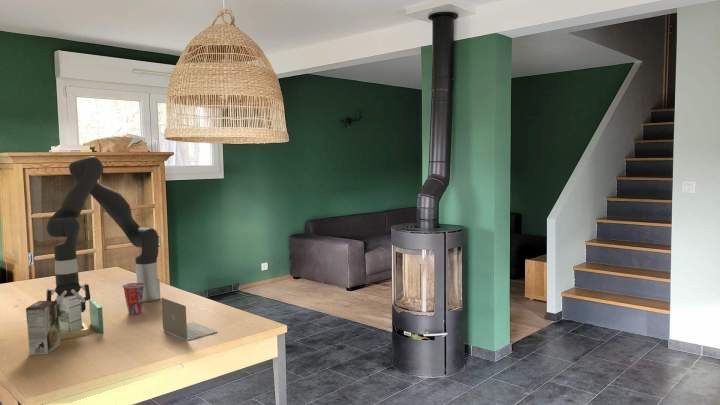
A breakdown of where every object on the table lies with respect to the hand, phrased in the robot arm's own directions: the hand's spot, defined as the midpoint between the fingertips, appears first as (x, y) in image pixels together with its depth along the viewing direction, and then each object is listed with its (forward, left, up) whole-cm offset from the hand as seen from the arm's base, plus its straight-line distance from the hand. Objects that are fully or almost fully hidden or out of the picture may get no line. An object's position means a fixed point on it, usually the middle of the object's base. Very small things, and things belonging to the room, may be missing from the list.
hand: (69, 314), depth 203 cm
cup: (-26, -13, -8) cm, 30 cm away
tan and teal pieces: (-2, 0, -7) cm, 8 cm away
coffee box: (+10, +14, -8) cm, 19 cm away
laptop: (-35, +27, -8) cm, 45 cm away
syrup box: (0, 0, -8) cm, 8 cm away
